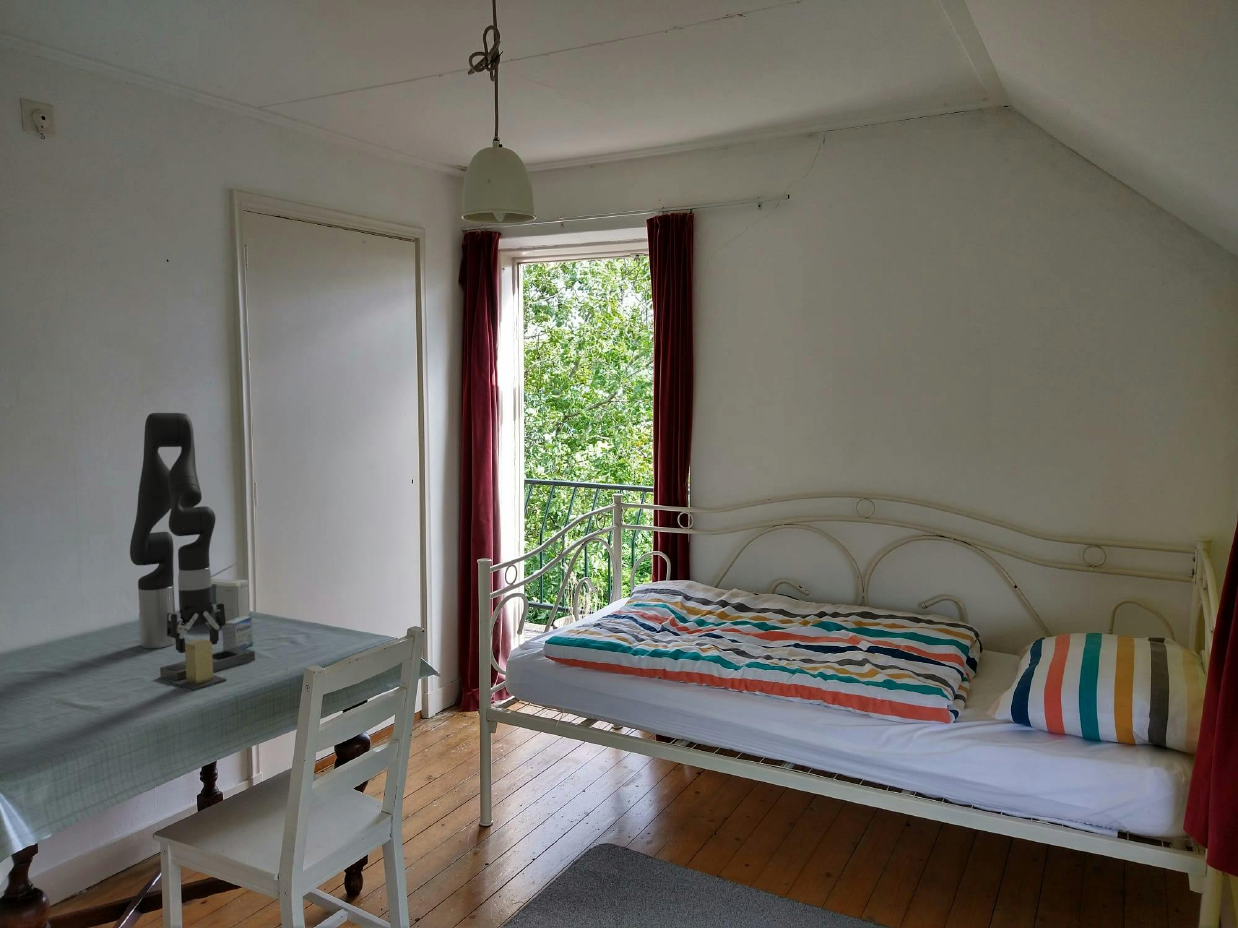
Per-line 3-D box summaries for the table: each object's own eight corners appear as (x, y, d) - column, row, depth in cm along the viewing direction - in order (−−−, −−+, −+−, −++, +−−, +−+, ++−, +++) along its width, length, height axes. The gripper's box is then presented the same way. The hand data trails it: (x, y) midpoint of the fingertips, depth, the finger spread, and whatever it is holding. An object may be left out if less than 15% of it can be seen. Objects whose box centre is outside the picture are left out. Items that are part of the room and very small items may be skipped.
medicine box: (236, 653, 246) (235, 623, 245) (222, 652, 247) (221, 622, 246) (253, 645, 254) (252, 616, 253) (240, 644, 255) (238, 615, 254)
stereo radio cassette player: (178, 622, 280) (175, 561, 278) (195, 616, 288) (192, 557, 286) (237, 625, 276) (234, 563, 274) (252, 619, 284) (250, 558, 282)
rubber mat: (172, 684, 220) (172, 682, 220) (206, 674, 227) (206, 672, 227) (192, 690, 215) (192, 688, 215) (226, 680, 222) (226, 678, 222)
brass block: (186, 681, 220) (184, 642, 219) (203, 676, 224) (201, 638, 223) (196, 684, 218) (194, 645, 217) (213, 679, 222) (211, 641, 221)
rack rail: (160, 676, 226) (160, 667, 225) (237, 655, 244) (237, 646, 244) (177, 682, 221) (177, 672, 221) (255, 660, 239) (254, 650, 239)
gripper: (213, 578, 227) (215, 638, 228) (159, 589, 215) (162, 652, 216) (229, 582, 223) (232, 643, 224) (175, 593, 211) (178, 657, 212)
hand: (197, 648), depth 220 cm, fingers open, 8 cm apart
